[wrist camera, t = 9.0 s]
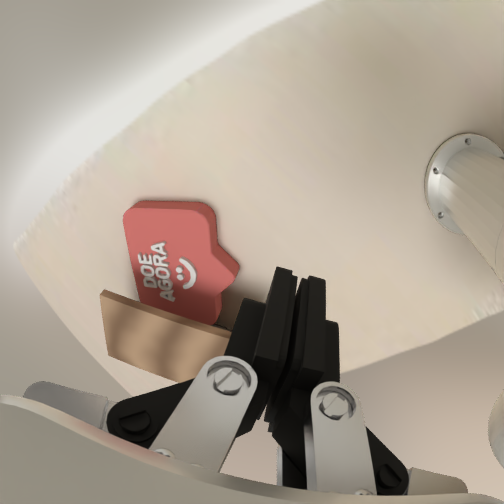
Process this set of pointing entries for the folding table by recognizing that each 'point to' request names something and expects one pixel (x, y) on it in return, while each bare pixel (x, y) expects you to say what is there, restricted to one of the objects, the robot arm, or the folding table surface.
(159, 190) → the folding table surface
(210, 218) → the plaque
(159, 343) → the overhang ledge
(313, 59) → the folding table surface
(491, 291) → the folding table surface
